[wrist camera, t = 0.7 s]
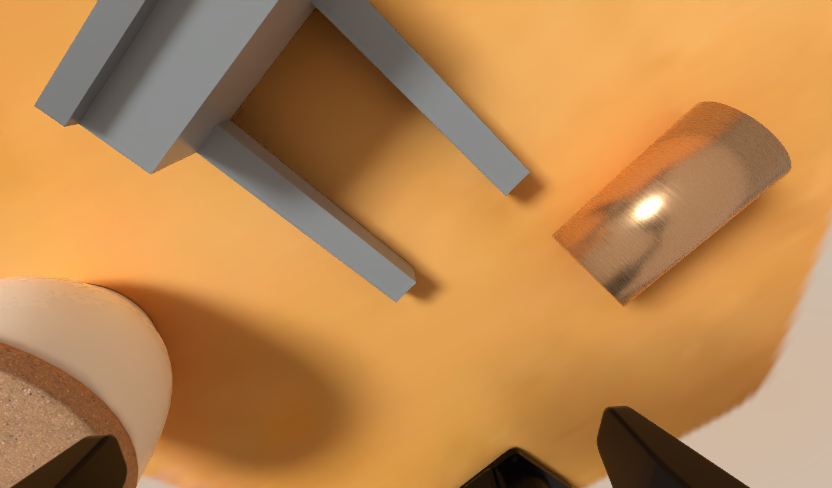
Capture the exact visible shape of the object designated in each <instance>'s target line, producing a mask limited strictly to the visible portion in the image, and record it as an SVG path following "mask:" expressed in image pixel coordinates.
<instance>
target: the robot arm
mask: <svg viewBox="0 0 832 488" xmlns="http://www.w3.org/2000/svg"><path fill="white" fill-rule="evenodd" d="M597 446H598V450H599V453H600V455H601V458H602V461H603V463H604V466H605V468H606V471H607V474H608V476H609V479H610V481H611V484H612V487H613V488H749V487H748V486H747V485H745V484H744V483H742V482H741V481H739V480H738V479H736V478H734V477H733V476H732V475H730V474H729V473H727V472H726V471H724V470H723V469H721V468H720V467H718V466H717V465H715V464H714V463H712V462H711V461H709V460H707V459H706V458H705V457H703V456H702V455H700V454H699V453H697V452H696V451H694V450H693V449H691V448H690V447H688V446H687V445H685V444H684V443H682V442H681V441H679V440H678V439H676V438H675V437H673V436H672V435H670V434H669V433H667V432H666V431H664V430H663V429H661V428H660V427H658V426H657V425H656V424H654V423H653V422H651V421H650V420H648V419H647V418H645V417H644V416H642V415H641V414H639V413H638V412H636V411H635V410H633V409H631V408H630V407H627V406H614V407H607V408H606V409H605V410H604V412H603V416H602V420H601V424H600V428H599V432H598V436H597ZM126 477H127V464H126V461H125V458H124V456H123V453H122V450H121V447H120V445H119V442H118V439H117V437H115V436H114V435H112V434H102V435H90V436H86V437H84V438H83V439H81V440H79V441H78V442H76V443H75V444H73V445H72V446H71V447H69V448H68V449H66V450H65V451H63V452H62V453H60V454H59V455H57V456H56V457H54V458H53V459H51V460H50V461H48V462H47V463H46V464H44V465H43V466H41V467H40V468H38V469H37V470H35V471H34V472H32V473H31V474H29V475H28V476H26V477H25V478H23V479H22V480H21V481H19V482H18V483H16V484H15V485H13V486H12V487H10V488H123V486H124V484H125V481H126ZM460 488H572V487H571V485H570V484H568V483H567V482H565V481H564V480H563V479H561V478H560V477H558V476H557V475H555V474H554V473H552V472H551V471H549V470H548V469H546V468H545V467H543V466H542V465H540V464H539V463H538V462H536V461H535V460H533V459H532V458H530V457H529V456H527V455H526V454H524V453H523V452H521V451H520V450H518V449H516V448H513V449H509V450H508V451H506V452H505V453H504V454H502V455H501V456H500V457H499V458H497V459H496V460H495V461H493V462H492V463H491V464H490V465H488V466H487V467H486V468H484V469H483V470H482V471H480V472H479V473H478V474H477V475H475V476H474V477H473V478H471V479H470V480H469V481H468V482H466V483H465V484H464V485H462V486H461V487H460Z"/></svg>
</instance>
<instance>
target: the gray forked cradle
mask: <svg viewBox="0 0 832 488" xmlns="http://www.w3.org/2000/svg"><path fill="white" fill-rule="evenodd" d="M315 8H317V9H318V10H319V11H320V12H321V13H322V14H323V15H324V16H325V17H326V18H327V19H328V20H329V21H330V22H331V23H332V24H333V25H334V26H335V27H336V28H337V29H338V30H339V31H340V32H341V33H342V34H343V35H344V36H345V37H346V38H347V39H349V40H350V41H351V42H352V43H353V44H354V45H355V46H356V47H357V48H358V49H359V50H360V51H361V52H362V53H363V54H364V55H365V56H366V57H367V58H368V59H369V60H370V61H371V62H372V63H373V64H374V65H375V66H376V67H377V68H378V69H379V70H380V71H381V72H382V73H383V74H384V75H385V76H386V77H387V78H388V79H389V80H390V81H391V82H392V83H393V84H394V85H395V86H396V87H397V88H398V89H399V90H400V91H401V92H402V93H403V94H404V95H405V96H406V97H407V98H408V99H409V100H410V101H411V102H412V103H413V104H414V105H415V106H416V107H417V108H418V109H419V110H420V111H421V112H422V113H423V114H424V115H425V116H426V117H427V118H428V119H429V120H430V121H431V122H432V123H433V124H434V125H435V126H436V127H437V128H438V129H439V130H440V131H441V132H442V133H443V134H444V135H445V136H446V137H447V138H448V139H449V140H450V141H451V142H452V143H453V144H454V145H455V146H456V147H457V148H458V149H459V150H460V151H461V152H462V153H463V154H464V155H465V156H466V157H467V158H468V159H469V160H470V161H471V162H472V163H473V164H474V165H475V166H476V167H477V168H478V169H479V170H480V171H481V172H482V173H483V174H484V175H485V176H486V177H487V178H488V179H489V180H490V181H491V182H492V183H493V184H494V185H495V186H496V187H497V188H498V189H499V190H500V191H501V192H502V193H503V194H504V195H505V196H506V195H507V194H508V193H509V192H510V191H511V190H512V189H513V188H514V187H515V186H516V185H517V184H518V183H519V182H520V181H521V180H522V179H524V178H525V177H526V176H527V175H528V174H529V173H530V171H529V170H528V169H527V168H526V167H525V166H524V165H523V164H522V163H521V162H520V161H519V160H518V159H517V158H516V157H515V156H514V155H513V153H512V152H511V151H510V150H509V149H508V148H507V147H506V146H505V145H504V144H503V143H502V142H501V141H500V140H499V139H498V138H497V137H496V135H495V134H494V133H493V132H492V131H491V130H490V129H489V128H488V127H487V126H486V125H485V124H484V123H483V122H482V121H481V120H480V119H479V118H478V116H477V115H476V114H475V113H474V112H473V111H472V110H471V109H470V108H469V107H468V106H467V105H466V104H465V103H464V102H463V101H462V100H461V98H460V97H459V96H458V95H457V94H456V93H455V92H454V91H453V90H452V89H451V88H450V87H449V86H448V85H447V84H446V83H445V82H444V80H443V79H442V78H441V77H440V76H439V75H438V74H437V73H436V72H435V71H434V70H433V69H432V68H431V67H430V66H429V65H428V64H427V62H426V61H425V60H424V59H423V58H422V57H421V56H420V55H419V54H418V53H417V52H416V51H415V50H414V49H413V48H412V47H411V46H410V44H409V43H408V42H407V41H406V40H405V39H404V38H403V37H402V36H401V35H400V34H399V33H398V32H397V31H396V30H395V29H394V28H393V27H392V25H391V24H390V23H389V22H388V21H387V20H386V19H385V18H384V17H383V16H382V15H381V14H380V13H379V12H378V11H377V10H376V9H375V7H374V6H373V5H372V4H371V3H370V2H369V1H368V0H98V2H97V3H96V5H95V7H94V8H93V10H92V11H91V13H90V15H89V16H88V18H87V20H86V21H85V23H84V25H83V26H82V28H81V30H80V31H79V33H78V34H77V36H76V38H75V39H74V41H73V43H72V44H71V46H70V48H69V49H68V51H67V52H66V54H65V56H64V57H63V59H62V61H61V62H60V64H59V66H58V67H57V69H56V71H55V72H54V74H53V75H52V77H51V79H50V80H49V82H48V84H47V85H46V87H45V89H44V90H43V92H42V94H41V95H40V97H39V98H38V100H37V102H36V103H35V105H34V106H35V107H37V108H38V109H40V110H41V111H42V112H44V113H45V114H47V115H48V116H50V117H51V118H53V119H54V120H55V121H57V122H58V123H60V124H61V125H63V126H64V127H65V126H70V125H75V124H80V125H81V126H83V127H84V128H85V129H87V130H88V131H90V132H91V133H93V134H94V135H95V136H97V137H98V138H100V139H101V140H103V141H104V142H105V143H107V144H108V145H110V146H111V147H113V148H114V149H115V150H117V151H118V152H120V153H121V154H122V155H124V156H125V157H127V158H128V159H130V160H131V161H132V162H134V163H135V164H137V165H138V166H140V167H141V168H142V169H144V170H145V171H147V172H148V173H150V174H153V173H155V172H157V171H159V170H161V169H163V168H165V167H167V166H169V165H171V164H173V163H175V162H177V161H179V160H181V159H183V158H185V157H188V156H190V155H192V154H194V153H196V152H197V153H198V154H199V155H201V156H202V157H203V158H205V159H206V160H207V161H209V162H210V163H211V164H213V165H214V166H215V167H217V168H218V169H219V170H221V171H222V172H223V173H225V174H226V175H227V176H229V177H230V178H231V179H233V180H234V181H235V182H237V183H238V184H239V185H241V186H242V187H243V188H245V189H246V190H247V191H249V192H250V193H251V194H253V195H254V196H255V197H257V198H258V199H259V200H261V201H262V202H263V203H265V204H266V205H267V206H269V207H270V208H271V209H273V210H274V211H275V212H277V213H278V214H279V215H281V216H282V217H283V218H285V219H286V220H287V221H288V222H290V223H291V224H292V225H294V226H295V227H296V228H298V229H299V230H300V231H302V232H303V233H304V234H306V235H307V236H308V237H310V238H311V239H312V240H314V241H315V242H316V243H318V244H319V245H320V246H322V247H323V248H324V249H326V250H327V251H328V252H330V253H331V254H332V255H334V256H335V257H336V258H338V259H339V260H340V261H342V262H343V263H344V264H346V265H347V266H348V267H350V268H351V269H352V270H354V271H355V272H356V273H358V274H359V275H360V276H362V277H363V278H364V279H366V280H367V281H368V282H370V283H371V284H372V285H374V286H375V287H376V288H378V289H379V290H380V291H382V292H383V293H384V294H386V295H387V296H388V297H389V298H391V299H392V300H393V301H395V302H397V301H398V300H399V299H400V298H401V297H402V296H403V295H404V294H405V293H406V292H407V291H408V290H409V289H410V288H411V287H412V286H414V285H415V284H416V278H415V272H414V268H413V267H412V266H411V265H409V264H408V263H407V262H406V261H404V260H403V259H402V258H401V257H400V256H398V255H397V254H396V253H395V252H393V251H392V250H391V249H390V248H388V247H387V246H386V245H385V244H383V243H382V242H381V241H380V240H378V239H377V238H376V237H375V236H374V235H372V234H371V233H370V232H369V231H367V230H366V229H365V228H364V227H362V226H361V225H360V224H359V223H357V222H356V221H355V220H354V219H352V218H351V217H350V216H349V215H347V214H346V213H345V212H344V211H343V210H341V209H340V208H339V207H338V206H336V205H335V204H334V203H333V202H331V201H330V200H329V199H328V198H326V197H325V196H324V195H323V194H321V193H320V192H319V191H318V190H317V189H315V188H314V187H313V186H312V185H310V184H309V183H308V182H307V181H305V180H304V179H303V178H302V177H300V176H299V175H298V174H297V173H295V172H294V171H293V170H292V169H291V168H289V167H288V166H287V165H286V164H284V163H283V162H282V161H281V160H279V159H278V158H277V157H276V156H274V155H273V154H272V153H271V152H269V151H268V150H267V149H266V148H264V147H263V146H262V145H261V144H260V143H258V142H257V141H256V140H255V139H253V138H252V137H251V136H250V135H248V134H247V133H246V132H245V131H243V130H242V129H241V128H240V127H238V126H237V125H236V124H235V123H234V122H232V121H231V120H230V119H231V118H232V117H233V115H234V114H235V113H236V111H237V110H238V109H239V107H240V106H241V105H242V104H243V102H244V101H245V100H246V98H247V97H248V96H249V94H250V93H251V92H252V90H253V89H254V88H255V86H256V85H257V84H258V83H259V81H260V80H261V79H262V77H263V76H264V75H265V73H266V72H267V71H268V69H269V68H270V67H271V65H272V64H273V63H274V62H275V60H276V59H277V58H278V56H279V55H280V54H281V52H282V51H283V50H284V48H285V47H286V46H287V44H288V43H289V42H290V41H291V39H292V38H293V37H294V35H295V34H296V33H297V31H298V30H299V29H300V27H301V26H302V25H303V24H304V22H305V21H306V20H307V18H308V17H309V16H310V14H311V13H312V12H313V10H314V9H315Z"/></svg>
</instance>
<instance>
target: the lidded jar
mask: <svg viewBox="0 0 832 488" xmlns="http://www.w3.org/2000/svg"><path fill="white" fill-rule="evenodd" d="M172 381H173V378H172V368H171V363H170V359H169V356H168V352H167V349H166V346H165V344H164V342H163V340H162V339H161V337H160V335H159V333H158V332H157V330H156V328H155V326H154V324H153V322H152V321H151V319H150V318H149V317H148V315H147V314H146V313H145V312H144V311H143V310H142V309H141V308H140V307H139V306H138V305H137V304H135V303H134V302H133V301H131V300H130V299H128V298H127V297H125V296H123V295H122V294H119V293H117V292H115V291H113V290H110V289H107V288H104V287H101V286H97V285H92V284H86V283H83V282H79V281H75V280H70V279H65V278H56V277H43V276H20V277H7V278H0V488H10V487H12V486H13V485H15V484H16V483H18V482H19V481H21V480H22V479H23V478H25V477H26V476H28V475H29V474H31V473H32V472H34V471H35V470H37V469H38V468H40V467H41V466H43V465H44V464H46V463H47V462H48V461H50V460H51V459H53V458H54V457H56V456H57V455H59V454H60V453H62V452H63V451H65V450H66V449H68V448H69V447H71V446H72V445H73V444H75V443H76V442H78V441H79V440H81V439H83V438H84V437H86V436H90V435H102V434H112V435H114V436H115V437H117V439H118V442H119V445H120V447H121V450H122V453H123V456H124V458H125V461H126V464H127V477H126V481H125V484H124V486H123V488H136V486H137V483H138V481H139V480H140V478H141V476H142V474H143V473H144V471H145V469H146V467H147V465H148V463H149V461H150V459H151V457H152V455H153V453H154V451H155V448H156V446H157V443H158V441H159V438H160V436H161V433H162V431H163V428H164V425H165V422H166V419H167V416H168V412H169V408H170V404H171V396H172Z"/></svg>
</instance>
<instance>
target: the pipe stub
mask: <svg viewBox="0 0 832 488" xmlns="http://www.w3.org/2000/svg"><path fill="white" fill-rule="evenodd" d="M790 170H791V160H790V157H789V155H788V153H787V151H786V149H785V148H784V146H783V145H782V144H781V142H780V141H779V140H778V139H777V138H776V137H775V136H774V135H773V134H772V133H771V132H770V131H769V130H768V129H767V128H765V127H764V126H763V125H762V124H760V123H759V122H758V121H756V120H755V119H753V118H752V117H750V116H748V115H747V114H745V113H743V112H741V111H739V110H737V109H735V108H732V107H730V106H727V105H724V104H721V103H716V102H701V103H698V104H696V105H695V106H694V107H693V108H692V109H691V110H689V111H688V112H687V113H686V114H685V115H684V116H683V117H682V118H681V119H680V120H678V121H677V122H676V123H675V124H674V125H673V126H672V127H671V128H670V129H669V130H668V131H666V132H665V133H664V134H663V135H662V136H661V137H660V138H659V139H658V140H657V141H655V142H654V143H653V144H652V145H651V146H650V147H649V148H648V149H647V150H646V151H644V152H643V153H642V154H641V155H640V156H639V157H638V158H637V159H636V160H635V161H633V162H632V163H631V164H630V165H629V166H628V167H627V168H626V169H625V170H624V171H622V172H621V173H620V174H619V175H618V176H617V177H616V178H615V179H614V180H613V181H611V182H610V183H609V184H608V185H607V186H606V187H605V188H604V189H603V190H602V191H600V192H599V193H598V194H597V195H596V196H595V197H594V198H593V199H592V200H591V201H589V202H588V203H587V204H586V205H585V206H584V207H583V208H582V209H581V210H580V211H578V212H577V213H576V214H575V215H574V216H573V217H572V218H571V219H570V220H569V221H567V222H566V223H565V224H564V225H563V226H562V227H561V228H560V229H559V230H558V231H556V232H555V233H554V234H553V235H552V236H553V237H554V238H555V240H556V241H557V242H558V243H559V244H560V245H561V246H562V247H563V248H564V249H565V250H566V251H567V252H568V253H569V254H570V255H571V256H572V257H573V258H574V259H575V260H576V261H577V262H578V263H579V264H580V265H581V266H582V267H583V268H584V269H585V270H586V271H587V272H588V273H590V274H591V275H592V276H593V277H594V278H595V279H596V280H597V281H598V282H599V283H600V284H601V285H602V286H603V287H604V288H605V289H606V290H607V291H608V292H609V293H610V294H611V295H612V296H613V297H614V298H615V299H616V300H617V301H618V302H619V303H620V304H621V305H622V306H625V305H627V304H628V303H629V302H630V301H632V300H633V299H634V298H635V297H636V296H638V295H639V294H640V293H641V292H643V291H644V290H645V289H646V288H648V287H649V286H650V285H651V284H652V283H654V282H655V281H656V280H657V279H659V278H660V277H661V276H662V275H664V274H665V273H666V272H667V271H668V270H670V269H671V268H672V267H673V266H675V265H676V264H677V263H678V262H680V261H681V260H682V259H683V258H684V257H686V256H687V255H688V254H689V253H691V252H692V251H693V250H694V249H696V248H697V247H698V246H699V245H700V244H702V243H703V242H704V241H705V240H707V239H708V238H709V237H710V236H712V235H713V234H714V233H715V232H716V231H718V230H719V229H720V228H721V227H723V226H724V225H725V224H726V223H728V222H729V221H730V220H731V219H732V218H734V217H735V216H736V215H737V214H739V213H740V212H741V211H742V210H744V209H745V208H746V207H747V206H748V205H750V204H751V203H752V202H753V201H755V200H756V199H757V198H758V197H759V196H761V195H762V194H763V193H764V192H766V191H767V190H768V189H769V188H771V187H772V186H773V185H774V184H775V183H777V182H778V181H779V180H780V179H782V178H783V177H784V176H785V175H787V174H788V173H789V171H790Z"/></svg>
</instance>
